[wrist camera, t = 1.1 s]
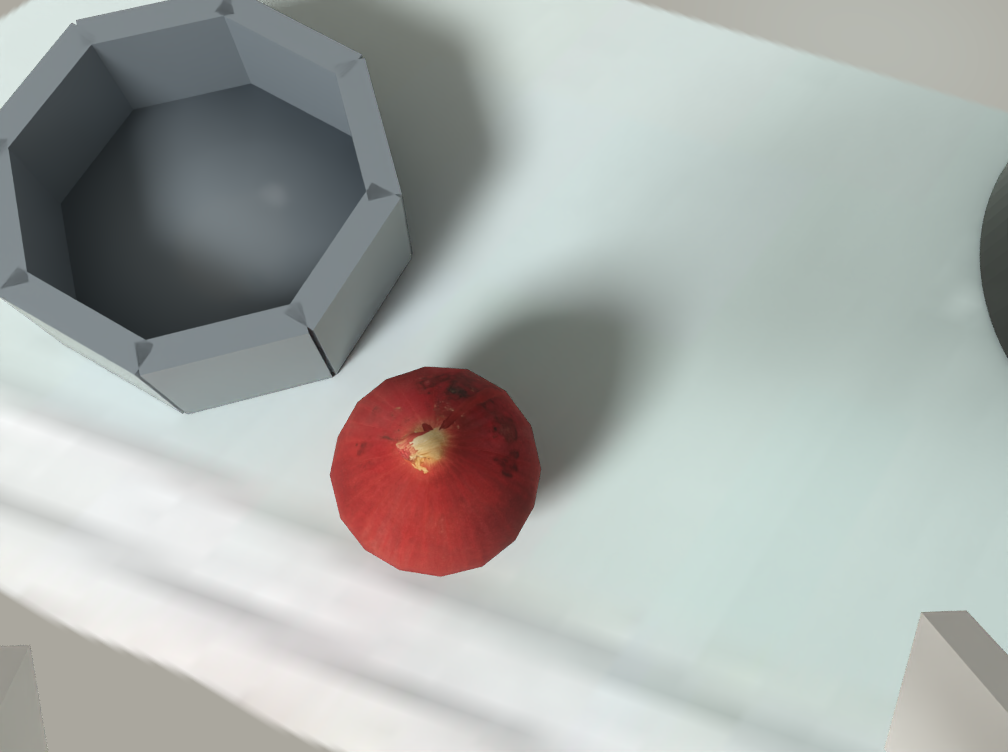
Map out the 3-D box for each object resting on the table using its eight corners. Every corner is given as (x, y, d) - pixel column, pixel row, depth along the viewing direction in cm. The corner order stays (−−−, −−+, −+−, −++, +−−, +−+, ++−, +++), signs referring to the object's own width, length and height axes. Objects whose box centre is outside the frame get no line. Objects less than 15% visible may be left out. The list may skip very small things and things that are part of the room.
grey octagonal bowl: (464, 176, 34) (461, 105, 29) (276, 468, 31) (241, 437, 26) (181, 28, 35) (139, -60, 31) (-25, 292, 32) (-105, 236, 28)
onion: (411, 372, 32) (388, 282, 24) (564, 456, 31) (591, 391, 23) (317, 526, 30) (260, 482, 22) (475, 618, 29) (472, 605, 22)
